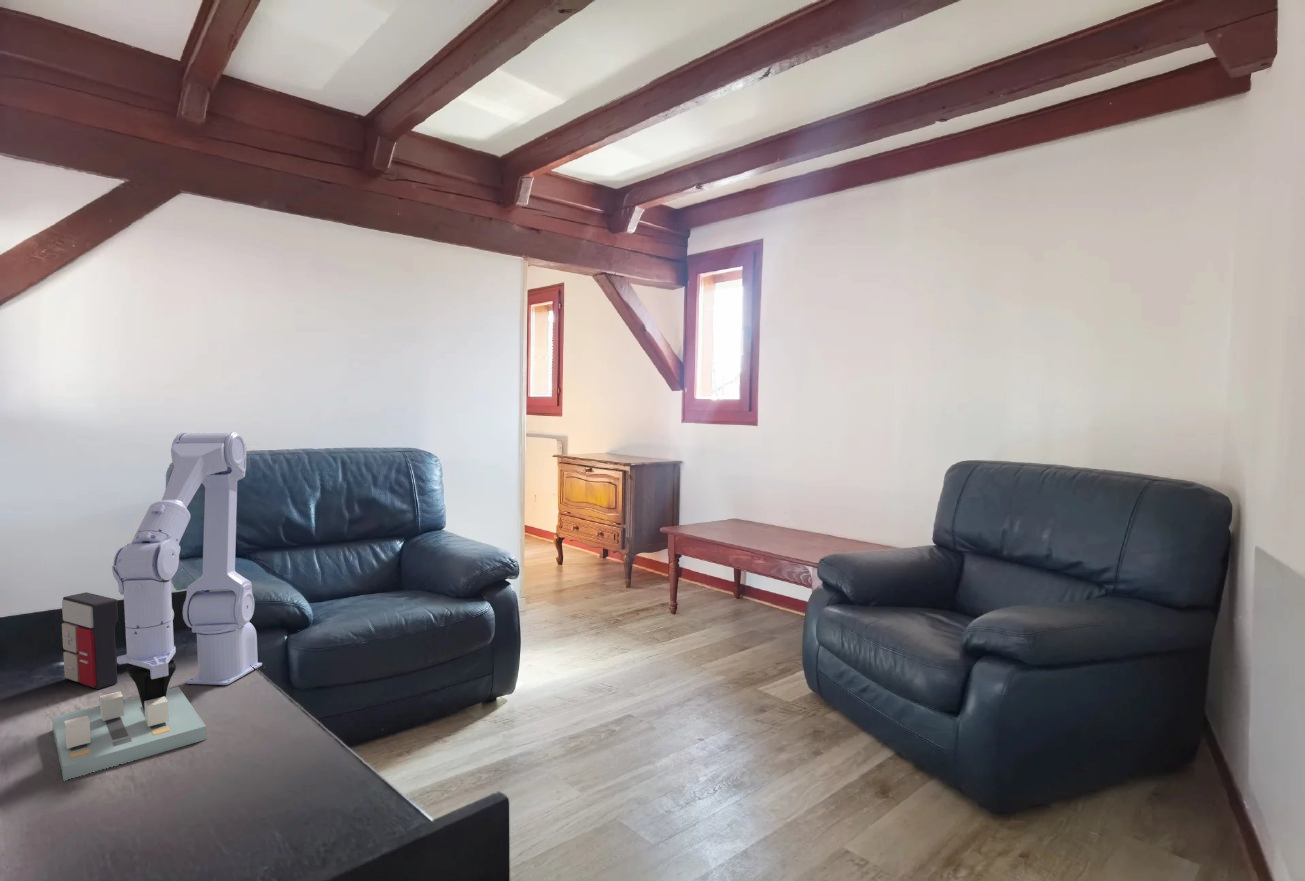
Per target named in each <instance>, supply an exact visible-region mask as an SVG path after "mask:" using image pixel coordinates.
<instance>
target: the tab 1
mask: <svg viewBox="0 0 1305 881" xmlns="http://www.w3.org/2000/svg"><path fill="white" fill-rule="evenodd" d="M64 724H65V742H66V746H67V749H68V748H71V747H75V746H79V745H83V744H86V743H90V742H91V740H90V722H89V718H88V715H87V716H83V717H79V718H75V719H71V720H67V721H64Z"/></svg>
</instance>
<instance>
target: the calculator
mask: <svg viewBox="0 0 1305 881" xmlns="http://www.w3.org/2000/svg"><path fill="white" fill-rule="evenodd" d="M61 610H62V620H63V622H62V623H61V633H62V634H61V635H62V636H61V638H62V648H63V650H65V651H63V652H62V653H63V666H64V667H63V669H64V671H63V672H64V678H65V679H67V680H70V681H74V682H76V683H78V684H82V685H85V686H87V687H91V688H94V689H96V690H100V689H102V688H106V687H110V686H113V685H116V684H117V683H118V670H117V668H118V667H117V666H118V665H117V653H116V651H117V650H116V631H115V629H116V628H115V626H116V624H117V622H118V620H119V614H118V613H119V612H118V601H117V599H116V598H113V597H109V596H104V595H98V594H95V593H91V592H85V591H84V592H81V593H76V594H72V595H65V596H63V597H62V600H61Z"/></svg>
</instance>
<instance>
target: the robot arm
mask: <svg viewBox="0 0 1305 881" xmlns="http://www.w3.org/2000/svg"><path fill="white" fill-rule="evenodd" d="M170 456H171V461H172V464H173V468H172V472H171V474H170V477H169V480H168V482H167V485H166V487H165V491H164V493H163V496H162V498H161V500H160V501H159V500H158V501H157V502H156V501H155V502H154V503H152V504H150V506H149V507H148V509H147V511H146V513H145V515H144V517H143V519H142V520H141V522H140V524H139V527H138V529H137V530H136V532H135V534H134V536H133V539H132V540H131V542H129V543H127V544H126V545H124V546H122V547H120V548H119V549H118V550H117V551H116V552H115V555H114V559H113V562H112V563H113V566H111V572H112V576H113V577H114V580H116V582H117V586H118V592H119V593H120V595H121V596H123V608H124V623H125V624H124V626H125V627H124V628H125V643H126V654H123V655H119V656H116V664H118V665H123V664H129V665H131V666H128V667H126V672H127V673H128V675H129V676H130V678H131V680H132V681H133V682H134V683H135V686H136V689H137V691H138V696H140V700H141V704H142V707H143V710H144V712H145V706H144V701H148V700H152V699H156V698H160V697H164V696H165V697H166V693H167V689H169V683H170V681H171V679H172V676H173V675H174V673H175V671H176V669H177V664H176V662H175V661H174V659H173V657H174V656H175V655H176V650H177V648H176V645H175V643H174V642H175V640H174V639H175V638H174V622H173V621H174V618H172V609H173V602H172V600H173V599H172V583H171V582H172V579H173V577H174V576H175V574H176V573H177V571H178V568H179V565H180V552H181V549H182V548H181V545H180V542H181V539H182V537H183V535H184V533H185V532H186V528H187V527H188V525H189V522H190V520H191V513H190V511H189V509H188V506H189V504H190V503H191V502H192V500H193V498H194V496H195V494H196V492H197V491H198V490H199V488H200V487H201V484H202V485H203V486H204V512H203V518H204V519H203V542H202V543H203V544H202V545H203V548H202V575H200V576H199V577H198V578H196V579H195V580H194V581H193V582H192V583H190V584H189V585H188V586H187V588H186V589H187V590H186V596H185V599H184V600H185V601H184V602H183V606H182V618H183V619H182V620H183V621H184V623H185V624H186V626H187V627H188V628H191V633H196V646H197V648H196V651H197V652H196V653H197V673H198V674H196V675H195V676H192V677H190V678H189V679H187V680H185V683H186V684H187V685H189V684H191V685H215V686H218V685H219V686H228V685H230V684H232V683H233V682H235V681H237V680H239V679H241V678H243V677H244V676H246V675H247V674H249V673H252V672H253V671H254V669H253V668H252V667H254V668H255V670H256V669H258V668H260V667H261V666H262V665H263V662H259V661H258V659H259V658H258V637H257V636H258V635H257V630H256V628H255V626H254V625H253V624H252V623H251V622H250V620H251V619H252V618H253V615H254V612H255V598H254V594H253V586H252V582H251V580H249V579H247V578H246V577H244V576H243V575H241V574H240V573H238V572H237V571H236V549H237V548H236V547H237V546H236V544H237V543H236V542H237V503H238V481H240V480H242V479H244V478H245V477H246V471H247V444H246V443H245V441H244V439H243V437H242V436H241V435H240V433H239V432H236V431H232V432H231V431H230V432H206V433H205V432H202V433H200V432H199V433H198V432H197V433H192V432H191V433H187V432H180V433H178V434H177V435H175V438H173V441H172V444H171V448H170ZM212 590H213V591H212ZM214 590H216V591H214ZM219 590H220V591H219ZM250 665H251V666H252V667H251V666H250Z"/></svg>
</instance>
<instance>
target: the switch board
mask: <svg viewBox="0 0 1305 881" xmlns="http://www.w3.org/2000/svg"><path fill="white" fill-rule="evenodd" d="M166 699H167V701H168V714H169V721H168V722H164V723H160V724H157V725H153V726H149V727H148V726H147V724H146V722H145V712H144V710H143V707H142V704H141V700H140V696H139V695H138V696H135V697H131V698H130V697H129V698H126V699H123V708H124V716H121V717H117V718H113V719H109V720H105V721H103V720H102V718H101V711H100V705H97V706H93V707H90V708H85V709H81V710H76V711H72V712H68V713H64V714H59V715H56V716H53V717H51V718H52V720H51V722H52V732H53V736H54V737H53V738H54V743H55V746H56V751H57V757H58V756H59V757H58V761H59V765H60V770H62V771H61V776H62V779H63V782H66V781H69V780H68V779H70V780H72V779H71V778H73V779H75V778H74V777H77V778H79V777H78V776H80V777H82V776H81V775H83V776H86V775H85V774H87V773H90V774H92V773H91V772H93V771H97V772H99V771H98V770H100V771H102V770H101V769H104V770H106V768H107V769H110V768H109V767H111V768H114V767H116V766H117V767H118V766H120V765H119V764H121V765H123V764H124V765H125V764H127V762H128V763H130V762H134V760H135V761H137V760H141V759H144V758H148V757H151V756H155V755H158V754H161V753H165V752H168V751H171V750H175V749H178V748H181V747H186V746H188V745H189V746H190V745H192V744H195V743H198V742H202V741H206V740H207V739H208V737H207V725H206V724H205V723H204V721H203V720H202V718H201V717H200V715H199V713H198V712H197V711H196V709H195V708H194V707H193V705H192V704H191V703H190V701H189V699H188V698H187V697H186V695H185V694H184V693H183V691H182V690H181V688H180V686H176V687H171V688H167V693H166ZM87 715H88V718H89V722H90V740H91V742H90V743H86V744H83V745H79V746H75V747H71V748H68V749H67V746H66V742H65V724H64V721H67V720H71V719H75V718H79V717H83V716H87ZM113 766H114V767H113ZM87 775H88V774H87ZM65 780H66V781H65Z"/></svg>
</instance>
